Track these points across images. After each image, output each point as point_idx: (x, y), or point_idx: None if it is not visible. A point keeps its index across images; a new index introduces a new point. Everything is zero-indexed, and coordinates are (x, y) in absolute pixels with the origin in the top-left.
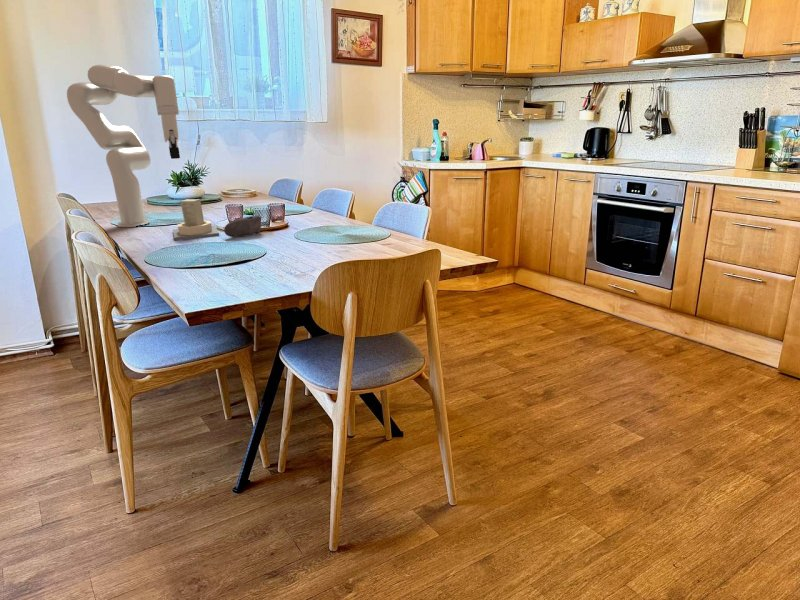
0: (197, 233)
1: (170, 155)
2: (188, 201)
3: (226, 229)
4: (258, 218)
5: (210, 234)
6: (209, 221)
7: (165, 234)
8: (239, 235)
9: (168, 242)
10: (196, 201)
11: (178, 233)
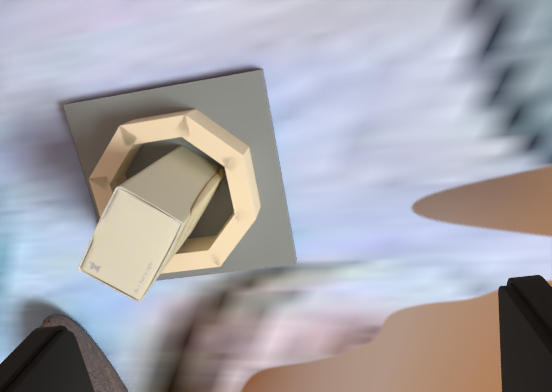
0: None
1: (519, 288)
2: (91, 237)
3: None
4: None
5: None
6: (208, 264)
7: (218, 35)
8: None
9: (33, 81)
10: (103, 279)
11: (153, 112)
